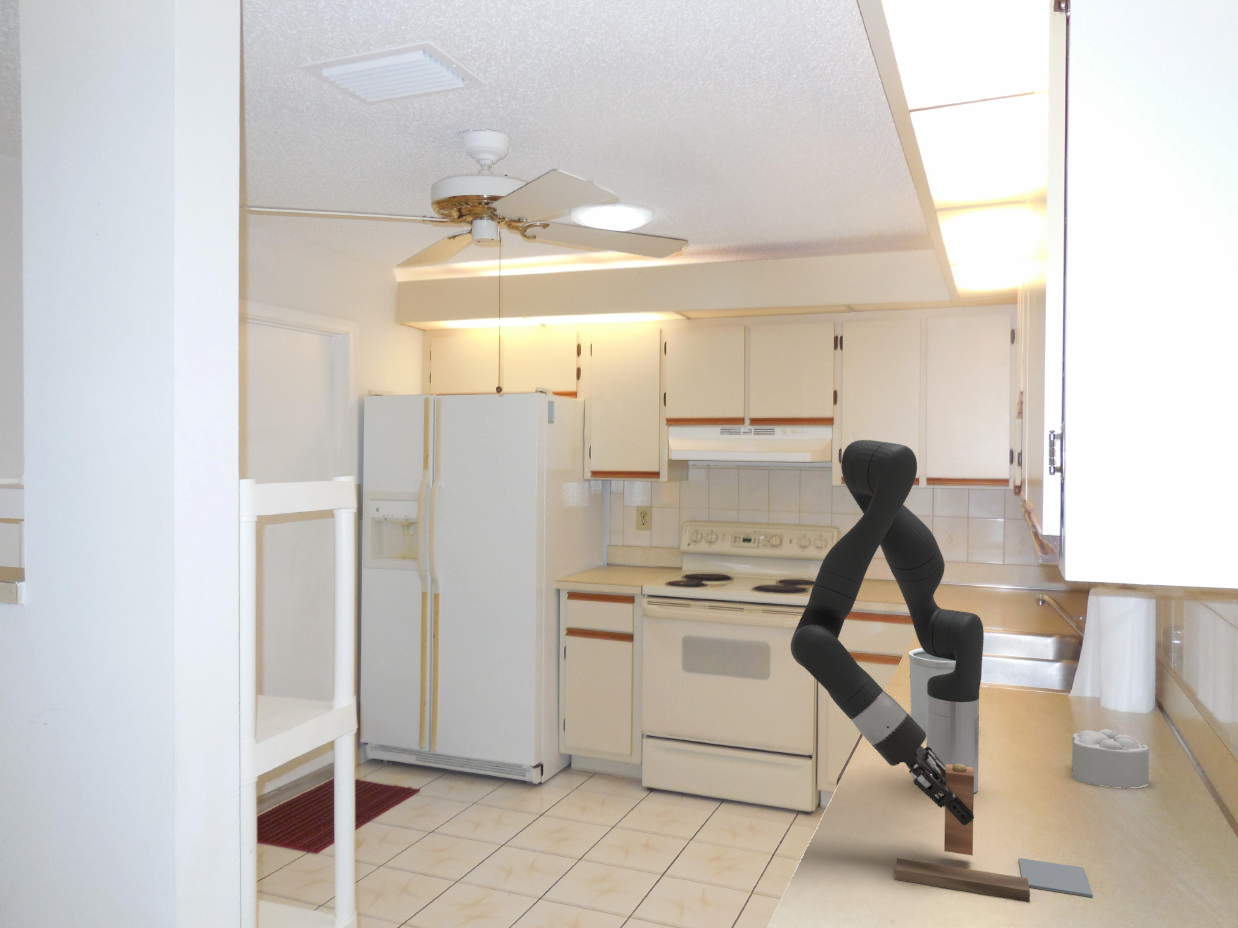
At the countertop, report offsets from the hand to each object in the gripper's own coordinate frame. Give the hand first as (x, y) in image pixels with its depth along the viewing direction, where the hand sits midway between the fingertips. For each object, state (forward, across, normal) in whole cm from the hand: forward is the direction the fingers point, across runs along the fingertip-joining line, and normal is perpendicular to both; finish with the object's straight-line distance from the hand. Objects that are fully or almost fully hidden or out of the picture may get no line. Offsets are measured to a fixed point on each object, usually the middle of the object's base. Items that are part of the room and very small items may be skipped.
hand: (969, 814), depth 137 cm
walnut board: (+5, -7, +6) cm, 10 cm away
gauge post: (+3, 0, +5) cm, 6 cm away
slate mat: (+14, 0, -3) cm, 14 cm away
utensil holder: (+3, +71, +9) cm, 72 cm away
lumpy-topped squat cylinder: (+24, +50, -13) cm, 57 cm away
